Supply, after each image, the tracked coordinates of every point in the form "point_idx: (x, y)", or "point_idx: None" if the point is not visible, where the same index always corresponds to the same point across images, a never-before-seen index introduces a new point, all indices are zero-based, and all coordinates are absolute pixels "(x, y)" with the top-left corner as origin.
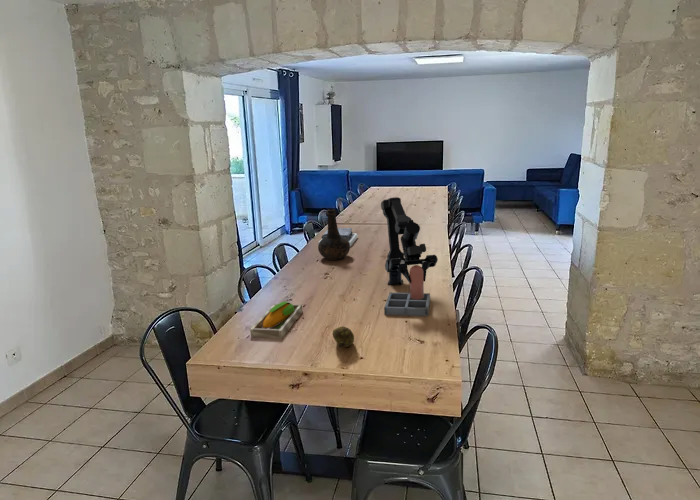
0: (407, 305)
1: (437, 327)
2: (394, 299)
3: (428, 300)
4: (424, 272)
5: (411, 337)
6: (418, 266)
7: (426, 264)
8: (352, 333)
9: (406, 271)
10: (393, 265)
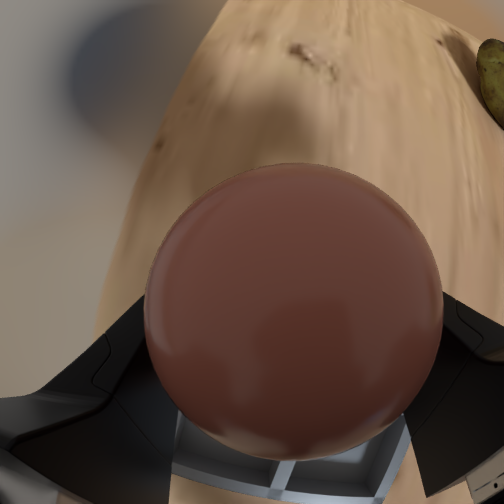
0: None
1: (214, 124)
2: (353, 476)
3: None
4: (135, 328)
5: (327, 76)
6: (260, 237)
7: (11, 405)
8: (487, 48)
9: (473, 322)
10: None
